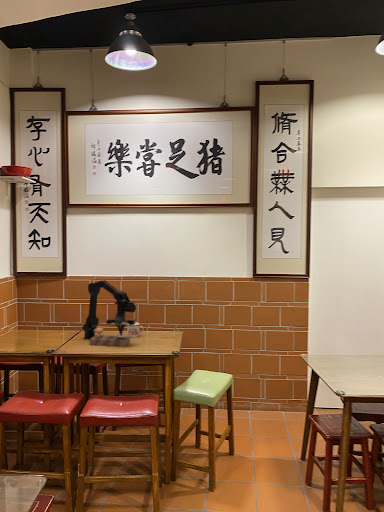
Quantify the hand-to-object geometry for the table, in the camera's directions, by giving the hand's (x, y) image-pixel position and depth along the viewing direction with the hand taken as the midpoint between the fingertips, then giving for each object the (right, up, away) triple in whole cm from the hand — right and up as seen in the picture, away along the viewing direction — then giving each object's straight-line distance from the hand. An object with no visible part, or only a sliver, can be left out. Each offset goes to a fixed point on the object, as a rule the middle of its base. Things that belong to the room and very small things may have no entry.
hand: (120, 334), depth 265 cm
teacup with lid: (+6, -6, +24) cm, 25 cm away
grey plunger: (0, -6, 0) cm, 6 cm away
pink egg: (-15, -3, +2) cm, 15 cm away
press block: (-8, -6, +1) cm, 10 cm away
